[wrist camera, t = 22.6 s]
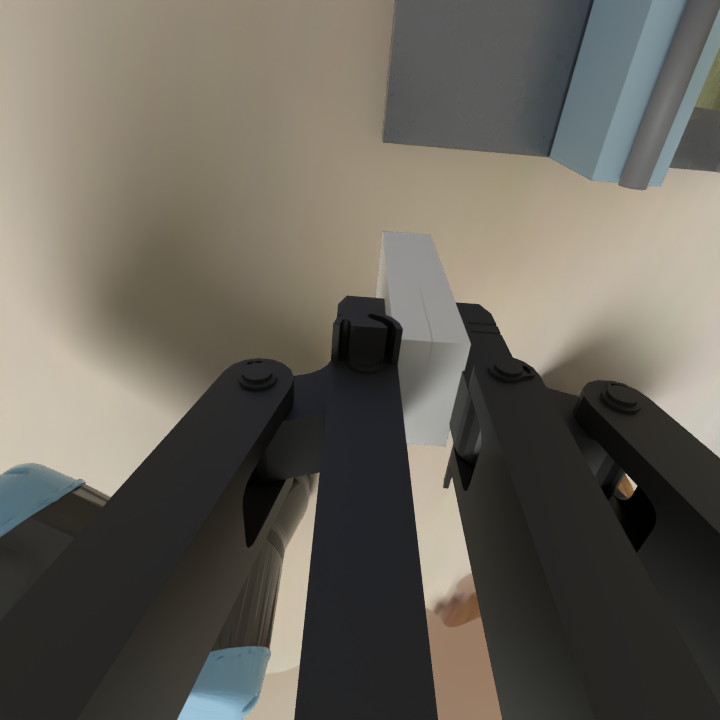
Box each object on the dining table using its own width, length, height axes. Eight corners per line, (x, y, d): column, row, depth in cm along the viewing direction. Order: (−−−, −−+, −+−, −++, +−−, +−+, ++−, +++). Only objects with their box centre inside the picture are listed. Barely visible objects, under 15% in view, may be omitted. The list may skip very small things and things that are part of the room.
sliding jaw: (549, 157, 32) (602, 186, 25) (616, -80, 25) (715, -132, 18) (606, 162, 32) (674, 192, 25) (687, -72, 25) (813, -121, 18)
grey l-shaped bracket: (381, 138, 33) (387, 163, 25) (403, -91, 26) (420, -151, 19) (730, 168, 34) (839, 201, 26) (835, -44, 27) (1021, -84, 20)
